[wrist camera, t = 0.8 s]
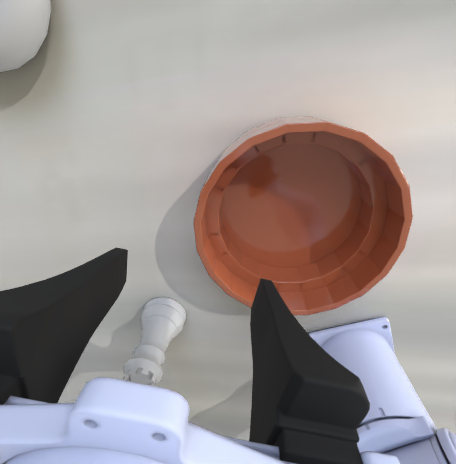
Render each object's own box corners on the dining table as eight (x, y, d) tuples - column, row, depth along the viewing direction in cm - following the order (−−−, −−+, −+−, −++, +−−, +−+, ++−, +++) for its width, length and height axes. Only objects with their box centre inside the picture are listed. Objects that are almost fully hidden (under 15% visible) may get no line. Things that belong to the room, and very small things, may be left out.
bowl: (388, 253, 24) (420, 289, 20) (238, 292, 27) (236, 331, 22) (362, 84, 18) (399, 80, 14) (177, 156, 21) (158, 172, 17)
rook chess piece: (183, 293, 27) (160, 363, 20) (190, 326, 29) (171, 400, 22) (140, 295, 28) (103, 363, 21) (150, 327, 30) (119, 400, 23)
